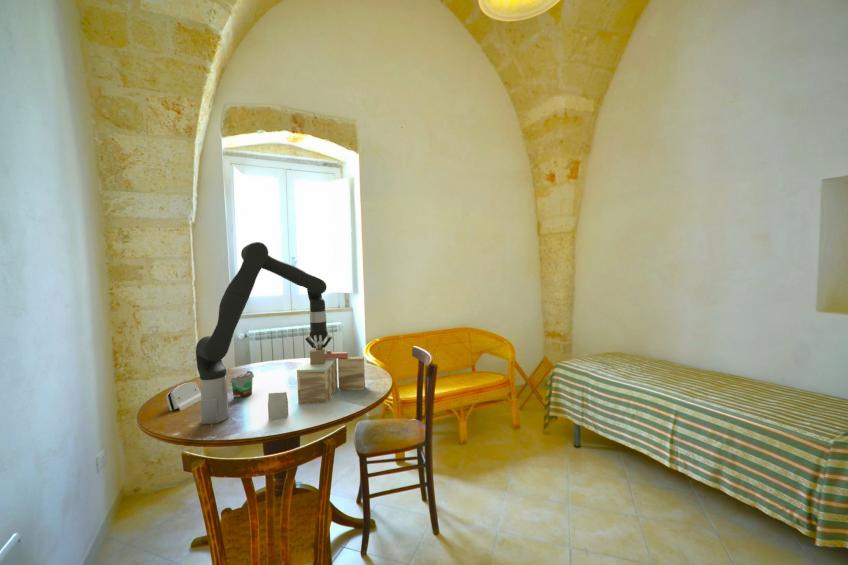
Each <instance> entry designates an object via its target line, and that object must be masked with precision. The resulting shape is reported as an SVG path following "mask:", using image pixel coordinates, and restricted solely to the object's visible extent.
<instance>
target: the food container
mask: <svg viewBox="0 0 848 565" xmlns="http://www.w3.org/2000/svg"><path fill="white" fill-rule="evenodd" d="M254 377H255V376H254V372H253V371H251V370H246V373H243V374H239V375H238V376H237V377H230V383H231V386H232V388H231V389H232V395H233V399H234V400H236V399H243V398H248V397H250V396H251V395H252V394H253V378H254Z"/></svg>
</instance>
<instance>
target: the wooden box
mask: <svg viewBox="0 0 848 565" xmlns="http://www.w3.org/2000/svg"><path fill="white" fill-rule="evenodd" d="M365 372H366V371H365V356H351V357H350V356H348V358H337V360H336V361H335V362H334V363H333V365H332V366H331V367H330V368H329V369H328V371H323V372H297V371H296V378H297V379H296V380H297V382H296V383H297V399H298V400H297V402H298V404H301V405H302V404H303V405H304V404H328V403H329V402H330V401H331V399H332V398H333V396H334V394H335V392H336V391H337V390H336V389H338V391H339V390H342V391H364V390H365V389H366V376H365Z"/></svg>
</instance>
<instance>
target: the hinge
mask: <svg viewBox="0 0 848 565" xmlns="http://www.w3.org/2000/svg"><path fill="white" fill-rule="evenodd" d="M199 387H200V386H199V385H198V383H197V382H196V381H192V382H191V381H190V382H185V383H182V384H179V385H176V386H175V387H174V388H172V389H171V390H170V391H169V392H168V393H166V395H165V398H166V402H167V406H168V408H169V409H168V410H169V412H172V411H174V410H177V409H178V410H179V411H180V412H181V411H183V410H185V409H187V408H188V407H191V406H193V405H195V404H197V402H200V401H201V388H199Z"/></svg>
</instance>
